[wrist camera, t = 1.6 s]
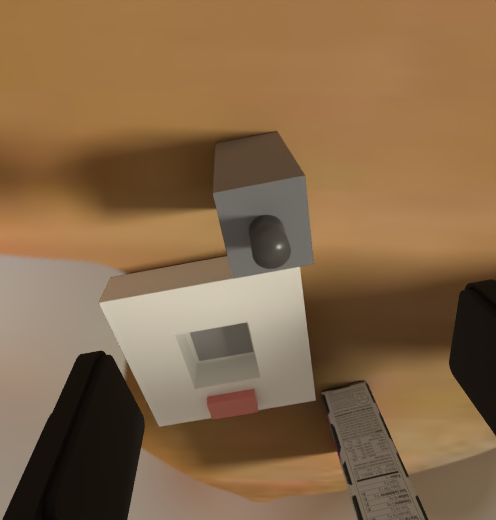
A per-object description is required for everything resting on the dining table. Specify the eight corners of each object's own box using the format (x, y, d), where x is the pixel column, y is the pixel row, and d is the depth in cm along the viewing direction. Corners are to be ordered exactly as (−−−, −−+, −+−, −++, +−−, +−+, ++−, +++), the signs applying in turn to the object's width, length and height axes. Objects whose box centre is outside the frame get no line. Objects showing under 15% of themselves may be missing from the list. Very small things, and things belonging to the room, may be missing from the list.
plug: (277, 131, 23) (315, 192, 14) (285, 197, 26) (323, 287, 16) (215, 143, 23) (211, 211, 14) (229, 207, 26) (234, 303, 16)
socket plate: (291, 244, 27) (301, 272, 24) (308, 372, 35) (317, 408, 31) (110, 277, 28) (95, 310, 24) (163, 396, 35) (157, 435, 32)
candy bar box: (382, 441, 41) (466, 649, 27) (338, 452, 42) (398, 661, 28) (368, 376, 35) (465, 596, 21) (318, 389, 36) (381, 612, 22)
